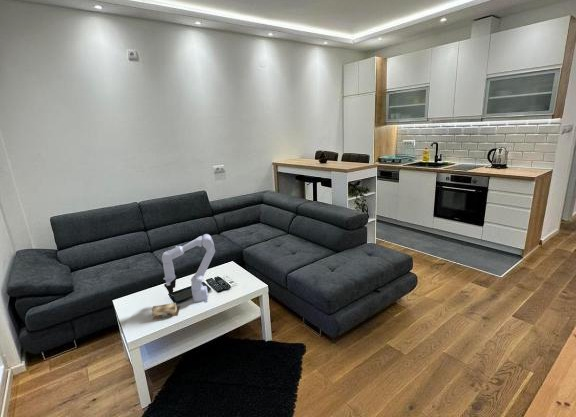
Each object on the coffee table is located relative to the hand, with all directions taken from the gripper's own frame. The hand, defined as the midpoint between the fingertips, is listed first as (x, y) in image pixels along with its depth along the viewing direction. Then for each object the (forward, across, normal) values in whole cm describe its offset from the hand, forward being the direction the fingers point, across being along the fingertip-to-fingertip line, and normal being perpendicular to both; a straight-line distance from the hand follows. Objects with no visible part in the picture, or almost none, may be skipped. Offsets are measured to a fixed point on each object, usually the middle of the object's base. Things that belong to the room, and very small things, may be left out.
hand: (172, 290), depth 190 cm
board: (+10, +8, -3) cm, 13 cm away
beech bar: (+8, +11, -3) cm, 14 cm away
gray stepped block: (+11, +11, -3) cm, 16 cm away
